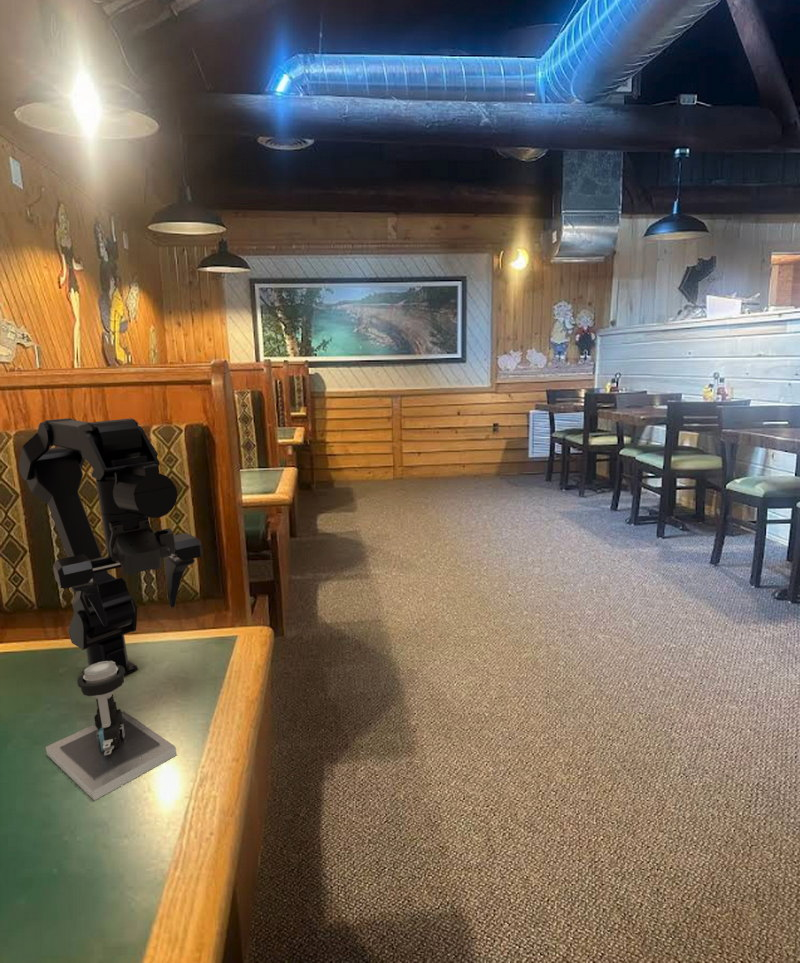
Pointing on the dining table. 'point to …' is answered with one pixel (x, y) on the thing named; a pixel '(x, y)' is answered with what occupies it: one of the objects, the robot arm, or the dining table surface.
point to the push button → (105, 701)
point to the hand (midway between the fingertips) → (139, 615)
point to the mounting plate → (110, 757)
